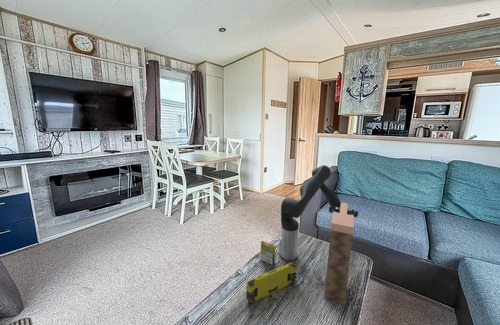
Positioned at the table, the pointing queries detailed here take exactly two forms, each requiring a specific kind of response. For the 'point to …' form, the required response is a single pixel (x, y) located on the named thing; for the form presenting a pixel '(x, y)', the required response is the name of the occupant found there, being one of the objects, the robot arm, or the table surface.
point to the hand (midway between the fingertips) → (343, 209)
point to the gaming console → (270, 282)
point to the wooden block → (338, 266)
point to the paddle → (342, 221)
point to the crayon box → (267, 252)
